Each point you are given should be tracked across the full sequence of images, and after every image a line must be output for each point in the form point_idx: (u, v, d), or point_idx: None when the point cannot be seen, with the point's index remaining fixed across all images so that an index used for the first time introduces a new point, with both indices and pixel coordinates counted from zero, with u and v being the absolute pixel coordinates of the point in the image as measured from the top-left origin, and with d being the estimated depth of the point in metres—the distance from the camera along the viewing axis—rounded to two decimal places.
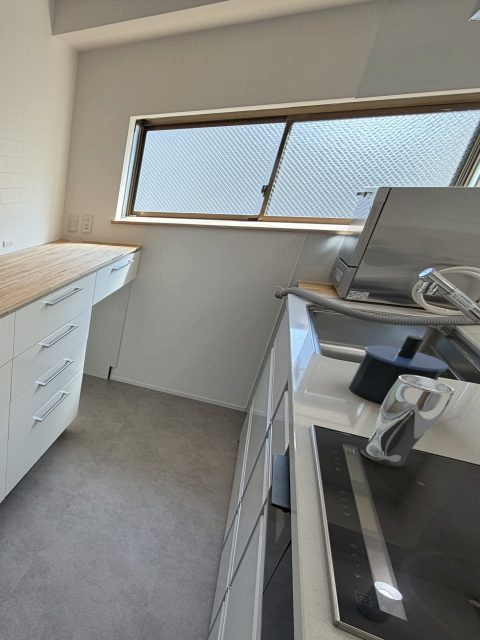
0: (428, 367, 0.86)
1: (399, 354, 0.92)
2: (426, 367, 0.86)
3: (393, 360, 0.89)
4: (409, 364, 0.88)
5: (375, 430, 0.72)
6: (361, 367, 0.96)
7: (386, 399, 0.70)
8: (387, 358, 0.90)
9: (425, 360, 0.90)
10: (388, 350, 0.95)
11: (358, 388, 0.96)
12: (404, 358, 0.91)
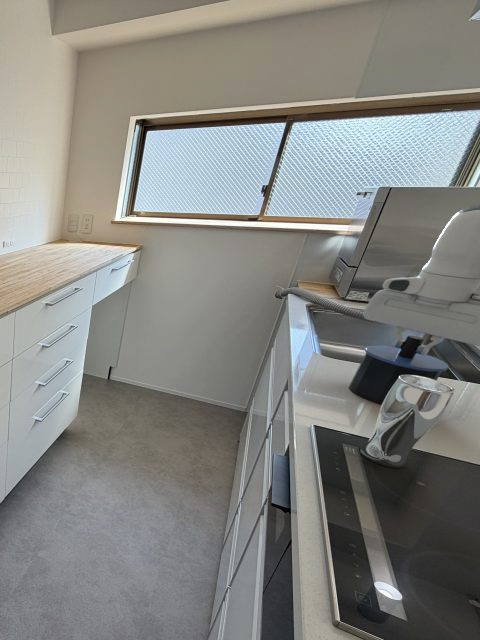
0: (428, 367, 0.86)
1: (399, 354, 0.92)
2: (426, 367, 0.86)
3: (393, 360, 0.89)
4: (409, 364, 0.87)
5: (375, 430, 0.72)
6: (361, 367, 0.96)
7: (386, 399, 0.70)
8: (387, 358, 0.90)
9: (425, 360, 0.90)
10: (388, 350, 0.95)
11: (358, 388, 0.96)
12: (404, 358, 0.91)
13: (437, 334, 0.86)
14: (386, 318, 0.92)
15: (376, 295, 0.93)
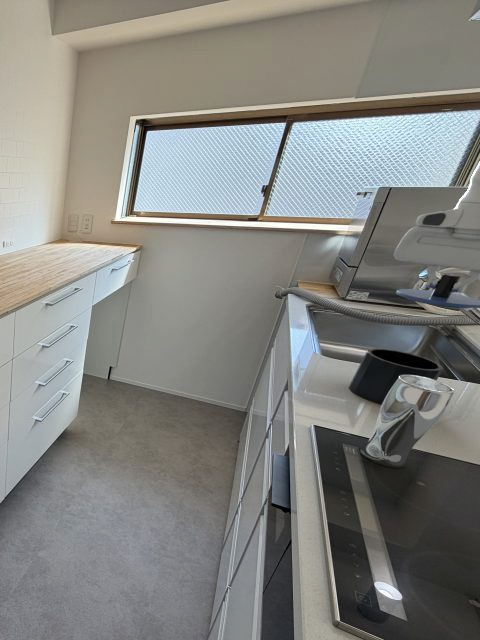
0: (467, 304, 0.82)
1: (434, 294, 0.88)
2: (465, 304, 0.82)
3: (429, 299, 0.85)
4: (446, 301, 0.83)
5: (375, 430, 0.72)
6: (361, 367, 0.96)
7: (386, 399, 0.70)
8: (422, 297, 0.86)
9: (462, 299, 0.86)
10: (421, 292, 0.91)
11: (358, 388, 0.96)
12: (439, 297, 0.86)
13: (476, 268, 0.81)
14: (419, 257, 0.88)
15: (408, 233, 0.88)
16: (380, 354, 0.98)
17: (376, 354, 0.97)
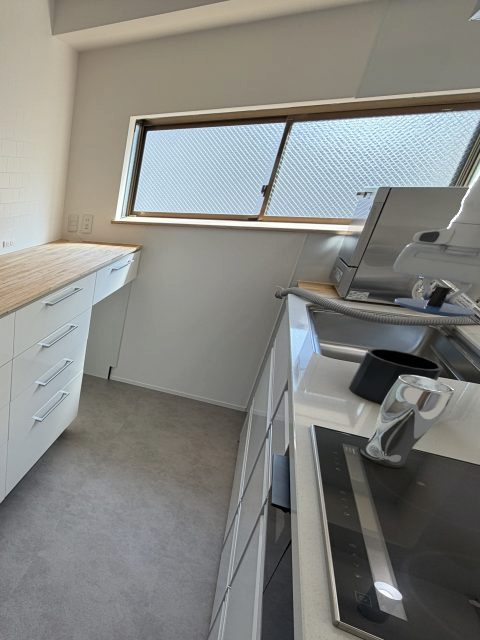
0: (457, 313, 0.92)
1: (428, 303, 0.98)
2: (455, 313, 0.92)
3: (423, 308, 0.95)
4: (439, 310, 0.93)
5: (375, 430, 0.72)
6: (361, 367, 0.96)
7: (386, 399, 0.70)
8: (417, 306, 0.96)
9: (453, 308, 0.96)
10: (417, 301, 1.01)
11: (358, 388, 0.96)
12: (433, 306, 0.96)
13: (465, 281, 0.91)
14: (416, 270, 0.98)
15: (406, 248, 0.98)
16: (380, 354, 0.98)
17: (376, 354, 0.97)
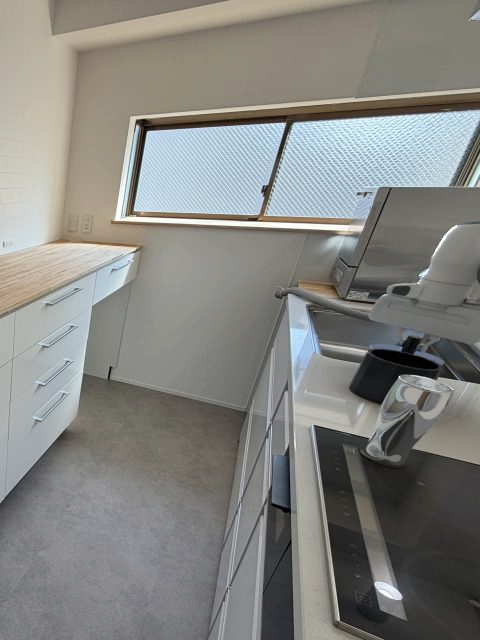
0: None
1: None
2: None
3: None
4: None
5: (375, 430, 0.72)
6: (361, 367, 0.96)
7: (386, 399, 0.70)
8: None
9: (424, 357, 1.01)
10: (391, 348, 1.06)
11: (358, 388, 0.96)
12: None
13: (434, 334, 0.97)
14: (389, 319, 1.03)
15: (380, 299, 1.04)
16: (380, 354, 0.98)
17: (376, 354, 0.97)
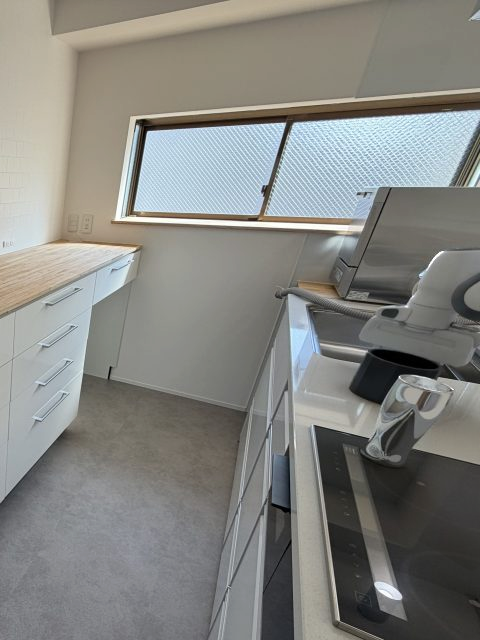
0: None
1: None
2: None
3: None
4: None
5: (375, 430, 0.72)
6: (361, 367, 0.96)
7: (386, 399, 0.70)
8: None
9: None
10: None
11: (358, 388, 0.96)
12: None
13: (422, 356, 0.99)
14: (379, 340, 1.06)
15: (370, 320, 1.06)
16: (380, 354, 0.98)
17: (376, 354, 0.97)
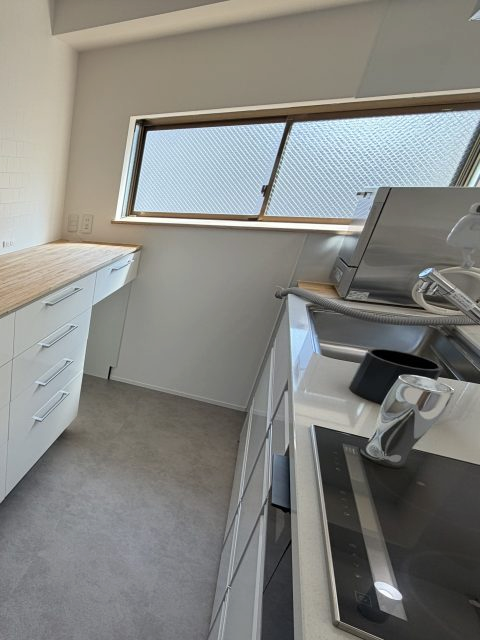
0: None
1: None
2: None
3: None
4: None
5: (375, 430, 0.72)
6: (361, 367, 0.96)
7: (386, 399, 0.70)
8: None
9: None
10: None
11: (358, 388, 0.96)
12: None
13: None
14: (472, 242, 0.96)
15: (462, 220, 0.96)
16: (380, 354, 0.98)
17: (376, 354, 0.97)
